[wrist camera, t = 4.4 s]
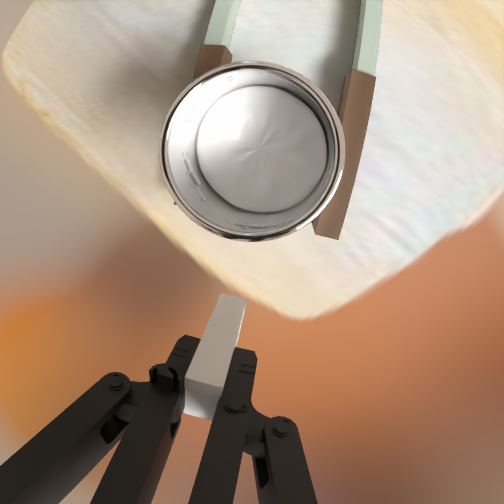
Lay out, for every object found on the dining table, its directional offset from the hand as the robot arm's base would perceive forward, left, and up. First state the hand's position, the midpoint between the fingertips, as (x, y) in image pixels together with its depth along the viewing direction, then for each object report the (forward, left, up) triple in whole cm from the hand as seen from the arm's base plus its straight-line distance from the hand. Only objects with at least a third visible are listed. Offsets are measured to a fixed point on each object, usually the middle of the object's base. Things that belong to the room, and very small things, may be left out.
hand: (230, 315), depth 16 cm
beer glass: (0, +9, -12) cm, 15 cm away
